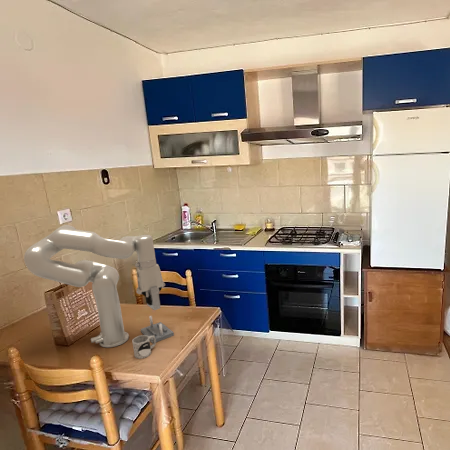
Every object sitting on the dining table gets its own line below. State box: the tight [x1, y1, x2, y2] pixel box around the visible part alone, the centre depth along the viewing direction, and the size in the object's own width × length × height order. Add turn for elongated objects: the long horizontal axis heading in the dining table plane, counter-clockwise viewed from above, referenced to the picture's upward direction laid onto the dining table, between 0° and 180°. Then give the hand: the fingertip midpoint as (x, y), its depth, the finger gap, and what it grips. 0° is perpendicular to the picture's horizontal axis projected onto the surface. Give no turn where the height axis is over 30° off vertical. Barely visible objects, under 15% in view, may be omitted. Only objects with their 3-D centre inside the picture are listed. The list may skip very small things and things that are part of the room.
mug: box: [131, 334, 157, 359], centre depth 148 cm, size 10×7×7 cm, turn 137°
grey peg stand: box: [140, 315, 175, 344], centre depth 163 cm, size 14×10×6 cm
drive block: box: [146, 286, 161, 311], centre depth 161 cm, size 8×3×10 cm, turn 34°
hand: (153, 302), depth 161 cm, fingers closed on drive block, 3 cm apart
